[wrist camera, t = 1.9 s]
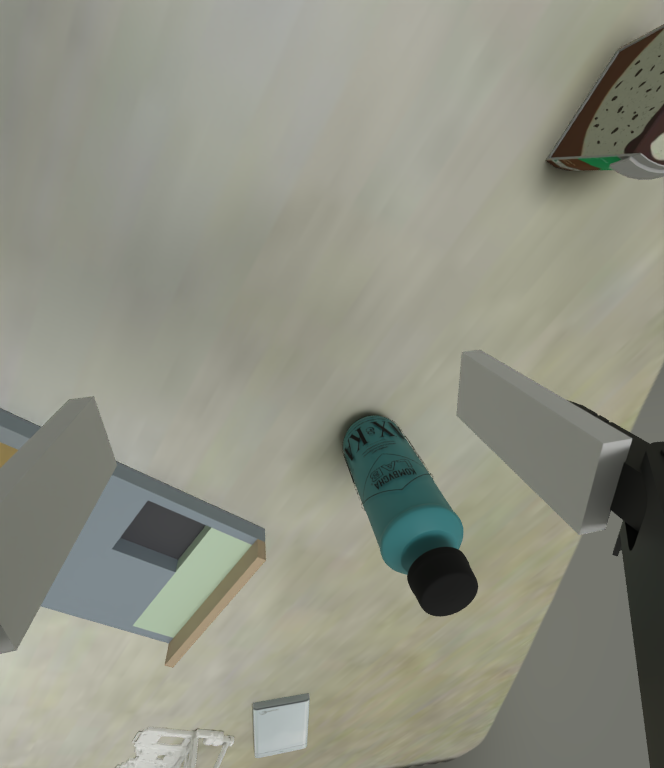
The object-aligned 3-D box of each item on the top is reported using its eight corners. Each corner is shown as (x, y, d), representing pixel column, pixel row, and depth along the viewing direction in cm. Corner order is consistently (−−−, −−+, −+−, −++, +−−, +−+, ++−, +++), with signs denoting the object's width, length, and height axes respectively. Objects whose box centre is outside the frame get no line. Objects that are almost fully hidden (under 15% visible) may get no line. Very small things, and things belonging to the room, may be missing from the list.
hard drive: (252, 711, 55) (254, 760, 60) (309, 700, 57) (307, 749, 62) (252, 698, 57) (254, 746, 61) (308, 688, 58) (306, 736, 63)
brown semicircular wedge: (578, 214, 37) (684, 213, 28) (534, 176, 35) (634, 162, 26) (671, 80, 34) (826, 30, 25) (630, 29, 31) (782, -47, 22)
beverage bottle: (406, 435, 43) (519, 593, 25) (358, 469, 43) (433, 649, 25) (375, 394, 40) (475, 538, 22) (324, 432, 41) (381, 603, 23)
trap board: (-113, 539, 36) (-159, 580, 32) (-30, 394, 33) (-70, 419, 29) (179, 629, 48) (172, 667, 44) (264, 529, 44) (265, 560, 40)
